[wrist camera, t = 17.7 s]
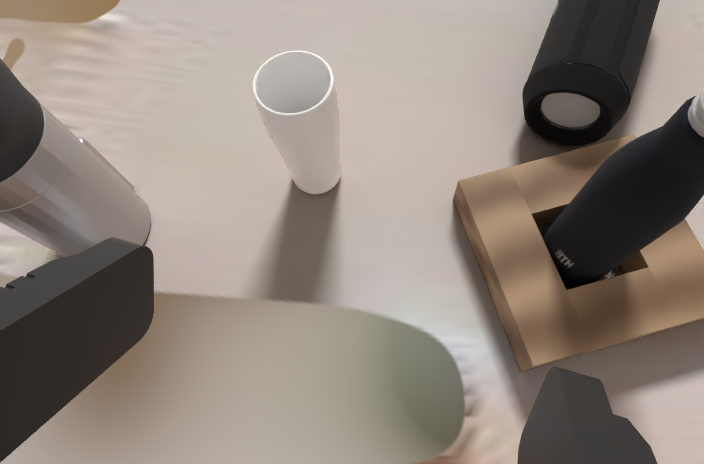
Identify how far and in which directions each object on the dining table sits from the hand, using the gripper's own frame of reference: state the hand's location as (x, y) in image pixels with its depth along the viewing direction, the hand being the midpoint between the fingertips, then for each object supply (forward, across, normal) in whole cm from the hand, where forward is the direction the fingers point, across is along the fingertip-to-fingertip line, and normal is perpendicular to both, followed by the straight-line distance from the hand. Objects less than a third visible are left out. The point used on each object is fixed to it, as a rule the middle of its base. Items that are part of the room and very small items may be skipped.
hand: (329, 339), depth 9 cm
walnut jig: (+39, -15, +12) cm, 43 cm away
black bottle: (+39, -15, +12) cm, 43 cm away
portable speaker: (+56, -13, -5) cm, 58 cm away
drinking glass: (+40, +12, +11) cm, 44 cm away
